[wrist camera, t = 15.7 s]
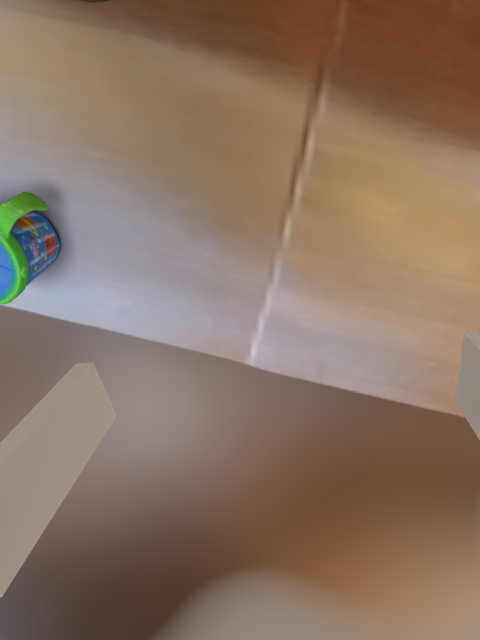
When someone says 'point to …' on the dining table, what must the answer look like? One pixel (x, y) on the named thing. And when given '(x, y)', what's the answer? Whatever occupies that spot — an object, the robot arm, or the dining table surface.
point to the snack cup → (24, 244)
